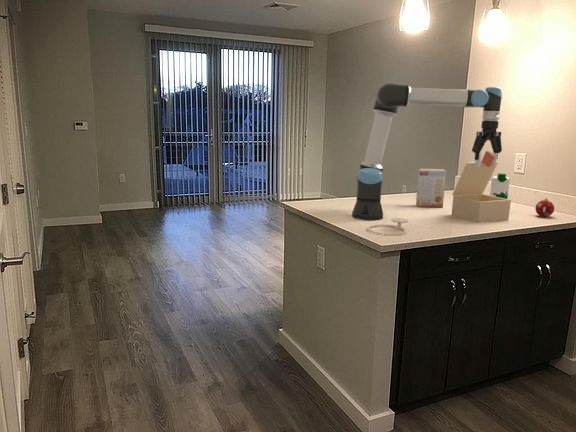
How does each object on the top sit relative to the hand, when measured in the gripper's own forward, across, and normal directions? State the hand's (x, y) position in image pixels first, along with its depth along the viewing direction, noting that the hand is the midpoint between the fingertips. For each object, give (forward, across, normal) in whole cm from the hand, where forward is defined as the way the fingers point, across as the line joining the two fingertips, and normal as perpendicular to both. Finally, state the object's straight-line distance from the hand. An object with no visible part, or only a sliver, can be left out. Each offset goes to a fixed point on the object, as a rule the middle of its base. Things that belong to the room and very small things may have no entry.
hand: (485, 166), depth 234 cm
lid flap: (+6, 0, 0) cm, 6 cm away
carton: (+26, 0, 0) cm, 26 cm away
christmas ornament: (+26, +35, -9) cm, 45 cm away
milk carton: (+26, +25, +12) cm, 38 cm away
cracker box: (+26, -6, +31) cm, 41 cm away
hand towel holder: (+26, -61, -8) cm, 67 cm away
